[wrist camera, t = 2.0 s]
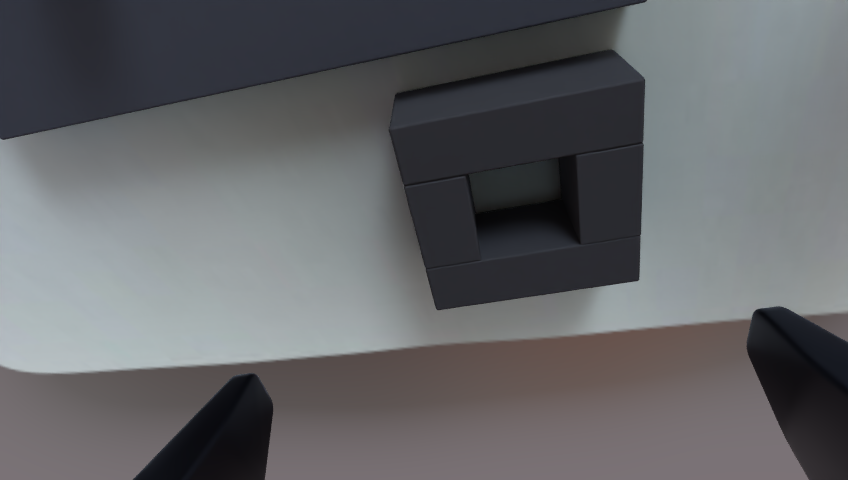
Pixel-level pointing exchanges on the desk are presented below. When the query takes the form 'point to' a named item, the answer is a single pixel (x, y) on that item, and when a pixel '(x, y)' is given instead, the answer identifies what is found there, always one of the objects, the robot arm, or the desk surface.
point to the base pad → (218, 46)
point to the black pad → (515, 145)
